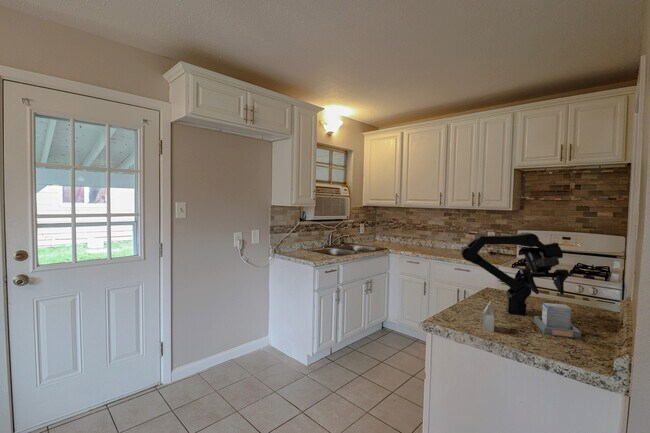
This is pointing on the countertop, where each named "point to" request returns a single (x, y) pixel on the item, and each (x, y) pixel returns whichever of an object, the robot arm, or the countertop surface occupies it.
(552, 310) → the medicine box
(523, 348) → the countertop surface
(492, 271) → the robot arm
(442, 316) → the countertop surface
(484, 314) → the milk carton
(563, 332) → the tray
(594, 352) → the countertop surface
